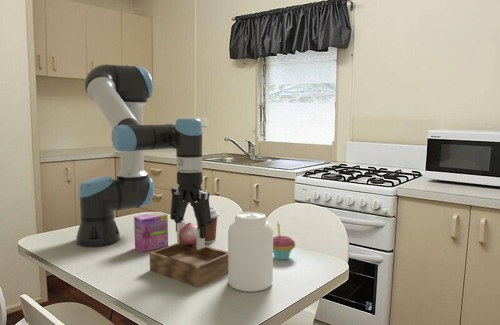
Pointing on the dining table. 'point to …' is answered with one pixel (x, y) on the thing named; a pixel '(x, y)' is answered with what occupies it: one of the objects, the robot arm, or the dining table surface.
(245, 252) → the white lidded jar
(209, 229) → the coffee cup
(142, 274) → the dining table surface
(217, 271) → the wooden tray
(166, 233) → the box
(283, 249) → the cupcake
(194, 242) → the onion
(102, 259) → the dining table surface
